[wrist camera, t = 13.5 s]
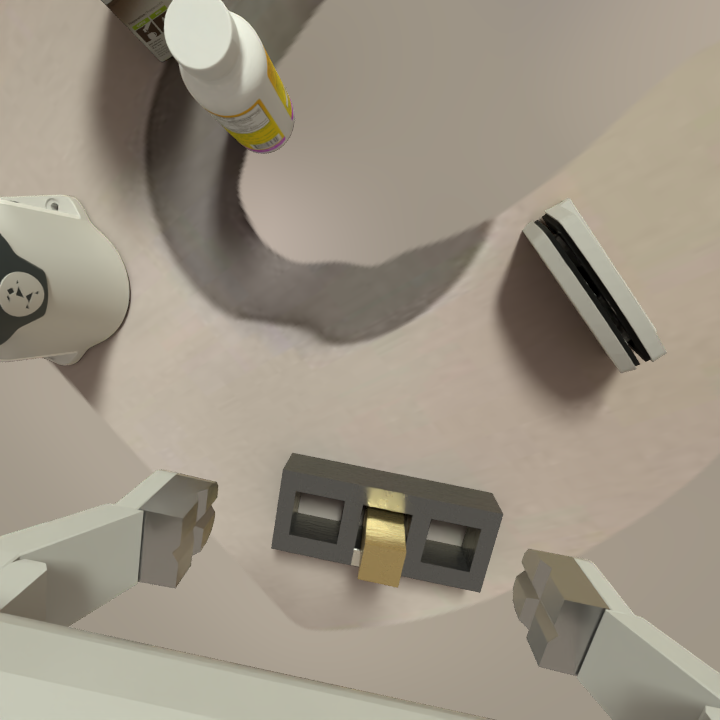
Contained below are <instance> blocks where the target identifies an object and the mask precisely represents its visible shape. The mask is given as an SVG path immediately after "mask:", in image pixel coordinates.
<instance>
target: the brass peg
mask: <svg viewBox="0 0 720 720" xmlns="http://www.w3.org/2000/svg"><path fill="white" fill-rule="evenodd" d="M405 556H406V542H405V529H404V517H403V513H400V512H396V511H391V510H386V509H381V508H376V507H371V506H366V510H365V515H364V520H363V529H362V539H361V550H360V560H359V571H358V579H360V580H365V581H369V582H374V583H379V584H384V585H388V586H393V587H398V585H399V581H400V577H401V573H402V569H403V564H404V560H405Z"/></svg>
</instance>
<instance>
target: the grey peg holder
mask: <svg viewBox="0 0 720 720" xmlns="http://www.w3.org/2000/svg"><path fill="white" fill-rule="evenodd" d="M301 492H303V493H308V494H313V495H318V496H323V497H327V498H332V499H337V500H342V501H345V504H344V509H343V515H342V520H341V522H340V521H335V520H330V519H325V518H320V517H315V516H311V515H306V514H301V513H298V507H299V501H300V495H301ZM363 505H366V506H371V507H376V508H381V509H386V510H391V511H396V512H400V513H405V514H406V515H405V520H404V529H405V542H406V556H405V560H404V564H403V569H402V573H401V576H404V577H409V578H414V579H418V580H423V581H428V582H433V583H437V584H442V585H447V586H451V587H456V588H461V589H466V590H470V591H475V592H480V591H481V588H482V585H483V581H484V578H485V574H486V571H487V568H488V564H489V561H490V557H491V554H492V550H493V547H494V544H495V540H496V537H497V533H498V530H499V527H500V523H501V520H502V516H503V513H502V511H501V509H500V507H499V505H498V503H497V501H496V500H495V498H494V496H493V494H492V493H489V492H484V491H479V490H474V489H469V488H464V487H459V486H454V485H449V484H444V483H439V482H434V481H429V480H424V479H419V478H414V477H409V476H404V475H400V474H395V473H390V472H385V471H380V470H375V469H370V468H365V467H360V466H355V465H350V464H345V463H340V462H335V461H330V460H325V459H320V458H315V457H310V456H305V455H300V454H295V453H292V455H291V456H290V458H289V460H288V462H287V463H286V465H285V467H284V469H283V473H282V480H281V487H280V493H279V500H278V507H277V514H276V520H275V527H274V534H273V540H272V547H271V548H272V549H277V550H281V551H286V552H291V553H295V554H300V555H305V556H310V557H314V558H319V559H324V560H329V561H333V562H338V563H343V564H347V565H352V566H357V567H359V560H360V550H361V539H362V529H363V526H359V522H360V517H361V513H362V508H363ZM431 519H435V520H439V521H444V522H449V523H454V524H459V525H464V526H467V530H466V533H465V537H464V541H463V544H462V547H460V546H455V545H450V544H446V543H441V542H436V541H431V540H426V537H427V533H428V529H429V525H430V521H431Z"/></svg>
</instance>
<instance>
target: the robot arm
mask: <svg viewBox="0 0 720 720" xmlns="http://www.w3.org/2000/svg"><path fill="white" fill-rule="evenodd" d="M57 206H58V210H57ZM128 303H129V281H128V276H127V272H126V269H125V266H124V264H123V261H122V259H121V257H120V255H119V254H118V252H117V250H116V249H115V247H114V246H113V245H112V244H111V242H110V241H109V240H108V239H107V238H106V237H105V236H104V235H103V234H102V233H101V232H100V231H99V230H98V229H96V228H95V226H94V225H93V224H92V223H91V222H90V220H89V218H88V216H87V214H86V212H85V210H84V208H83V207H82V205H81V203H80V202H79V201H78V200H77V199H76V198H74V197H72V196H67V195H41V196H15V197H0V362H11V361H18V360H27V359H34V358H44V359H47V360H49V361H52V362H54V363H57V364H59V365H73V364H75V363H77V362H78V361H79V360H80V359H81V357H82V356H83V355H84V353H85V352H86V351H87V349H89V348H90V347H92V346H94V345H96V344H98V343H101V342H103V341H104V340H106V339H107V338H109V337H110V336H111V335H112V334H113V333H114V332H115V331H116V330H117V329H118V328H119V326H120V325H121V323H122V321H123V319H124V317H125V315H126V312H127V308H128ZM217 494H218V484H217V482H215V481H211V480H206V479H202V478H198V477H194V476H189V475H185V474H181V473H180V474H179V473H177V472H172V471H167V470H162V469H161V470H156V471H155V472H154V473H153V474H151V475H150V476H149V477H148V478H146V479H145V480H144V481H143V482H142V483H141V484H139V485H138V486H137V487H135V488H134V489H133V490H132V491H131V492H129V493H128V494H127V495H126V496H124V497H123V498H122V499H121V500H120V501H118V502H117V503H116V504H115V505H114V504H109V503H108V504H104V505H101V506H98V507H95V508H92V509H88V510H85V511H81V512H78V513H75V514H72V515H69V516H65V517H62V518H59V519H56V520H52V521H49V522H46V523H43V524H39V525H36V526H33V527H29V528H26V529H23V530H19V531H16V532H13V533H10V534H7V535H4V536H0V720H494V719H490V718H485V717H480V716H476V715H471V714H467V713H462V712H458V711H453V710H449V709H444V708H439V707H435V706H430V705H426V704H421V703H416V702H412V701H407V700H403V699H398V698H393V697H388V696H384V695H379V694H374V693H370V692H366V691H360V690H356V689H352V688H347V687H343V686H338V685H333V684H328V683H324V682H319V681H314V680H310V679H306V678H301V677H296V676H291V675H287V674H282V673H278V672H273V671H268V670H264V669H259V668H255V667H250V666H245V665H241V664H236V663H232V662H226V661H222V660H218V659H213V658H208V657H204V656H199V655H195V654H190V653H186V652H181V651H176V650H172V649H167V648H163V647H158V646H153V645H149V644H144V643H140V642H134V641H130V640H126V639H121V638H116V637H112V636H107V635H103V634H98V633H93V632H89V631H84V630H80V629H75V628H70V627H69V626H70V625H72V624H73V623H75V622H76V621H78V620H80V619H81V618H83V617H85V616H86V615H88V614H90V613H91V612H93V611H94V610H96V609H98V608H99V607H101V606H103V605H104V604H106V603H107V602H109V601H111V600H112V599H114V598H115V597H117V596H119V595H120V594H122V593H123V592H125V591H127V590H128V589H130V588H131V587H133V586H135V585H136V584H137V583H138V582H143V583H149V584H154V585H159V586H165V587H170V588H176V587H177V585H178V584H179V582H180V581H181V579H182V578H183V576H184V575H185V573H186V572H187V571H188V569H189V567H190V566H191V561H192V556H193V555H195V554H197V553H198V552H200V551H201V550H202V548H203V546H204V545H205V544H206V542H207V540H208V537H209V535H210V533H211V530H212V527H213V523H214V518H215V511H214V509H213V507H212V506H211V505H212V503H213V502H214V501H215V499H216V498H217ZM522 564H523V567H524V569H525V571H523V572H522V573H521V574H519V575H518V576H516V580H515V583H514V586H513V603H514V608H515V611H516V614H517V616H518V619H519V620H520V621H521V622H522V623H523V624H524V625H525V626H526V627H527V628H528V629H529V631H528V634H527V640H528V643H529V645H530V647H531V649H532V652H533V654H534V656H535V659H536V661H537V664H538V666H539V667H542V668H546V669H550V670H554V671H558V672H562V673H567V674H570V675H575V676H577V679H578V680H579V682H580V683H581V684H582V685H583V686H584V687H585V688H586V690H587V691H588V692H589V693H590V694H591V695H592V697H593V698H594V699H595V700H596V701H597V702H598V704H599V705H600V706H601V707H602V708H603V709H604V711H605V712H606V713H607V714H608V715H609V716H610V718H611V719H612V720H720V673H718V672H717V671H715V670H714V669H713V668H711V667H710V666H708V665H707V664H706V663H704V662H703V661H702V660H700V659H699V658H697V657H696V656H695V655H693V654H692V653H691V652H689V651H688V650H687V649H685V648H684V647H682V646H681V645H680V644H678V643H677V642H675V641H674V640H672V639H671V638H670V637H668V636H667V635H666V634H664V633H663V632H662V631H660V630H659V629H657V628H656V627H655V626H653V625H652V624H651V623H649V622H648V621H647V620H645V619H644V618H642V617H639V616H635V615H634V614H633V612H632V611H631V610H630V608H629V607H628V606H627V605H626V603H625V602H624V601H623V599H622V598H621V597H620V596H619V594H618V593H617V592H616V591H615V589H614V588H613V587H612V585H611V584H610V583H609V582H608V580H607V579H606V578H605V577H604V575H603V574H602V573H601V572H600V570H599V569H598V568H597V566H596V565H595V564H594V563H593V562H591V561H590V560H588V559H583V558H578V557H572V556H564V555H559V554H554V553H549V552H544V551H539V550H533V549H528V550H527V551H526V552H525V554H524V556H523V559H522Z"/></svg>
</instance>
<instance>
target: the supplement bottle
mask: <svg viewBox="0 0 720 720" xmlns="http://www.w3.org/2000/svg"><path fill="white" fill-rule="evenodd" d="M164 34H165V40H166V43H167V46H168V48H169V50H170V52H171V54H172V55H173V57H174V58H175V59H176V60H177V61H178V63H179V68H180V72H181V76H182V79H183V81H184V83H185V85H186V87H187V89H188V91H189V92H190V94H191V95H192V96H193V97H194V99H195V100H196V101H197V102H198V103H199V104H200V105H201V106H202V107H203V108H204V109H205V110H206V111H207V112H208V113H209V114H211V115H212V116H213V117H214V118H215V119H216V120H217V121H218V122H219V123H220V124H221V125H222V126H223V127H224V128H225V129H226V130H227V131H228V132H229V133H230V134H231V135H232V136H233V137H234V138H235V139H236V140H237V141H238V142H239V143H240V144H241V145H242V146H244V147H245V148H247V149H248V150H250V151H253V152H256V153H263V154H265V153H271V152H274V151H276V150H278V149H280V148H281V147H282V146H283V145H284V144H285V143H286V142H287V141H288V139H289V137H290V136H291V133H292V130H293V127H294V120H295V117H294V109H293V105H292V102H291V99H290V98H289V95H288V93H287V91H286V89H285V87H284V85H283V83H282V81H281V79H280V77H279V76H278V74H277V72H276V70H275V68H274V66H273V64H272V62H271V60H270V58H269V56H268V54H267V52H266V50H265V48H264V46H263V44H262V42H261V40H260V39H259V37H258V35H257V33H256V32H255V30H254V29H253V28H252V27H251V25H250V24H249V23H248V22H247V21H246V20H244V19H243V18H242V17H240V16H239V15H237V14H235V13H233V12H230V11H228V9H227V8H226V6H225V5H224V3H223V2H222V1H221V0H173V1H172V2H171V4H170V5H169V7H168V10H167V12H166V15H165V20H164Z"/></svg>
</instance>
